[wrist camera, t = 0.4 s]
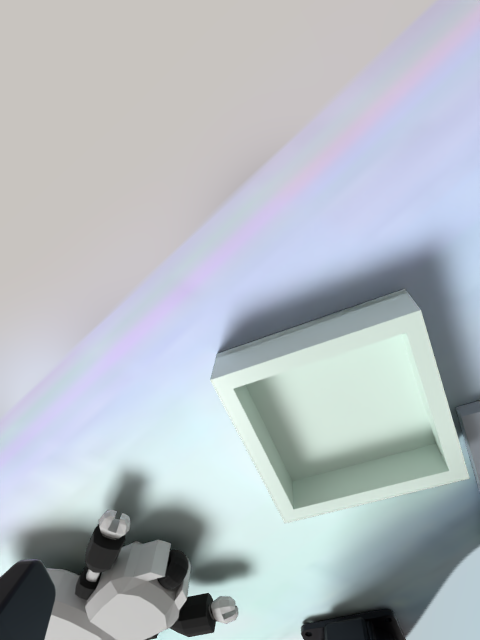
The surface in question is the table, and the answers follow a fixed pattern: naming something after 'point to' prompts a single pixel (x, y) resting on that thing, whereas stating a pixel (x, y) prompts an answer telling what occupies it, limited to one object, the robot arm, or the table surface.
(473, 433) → the crank base
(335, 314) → the tray
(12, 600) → the robot arm
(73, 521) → the table surface
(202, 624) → the robot toy
